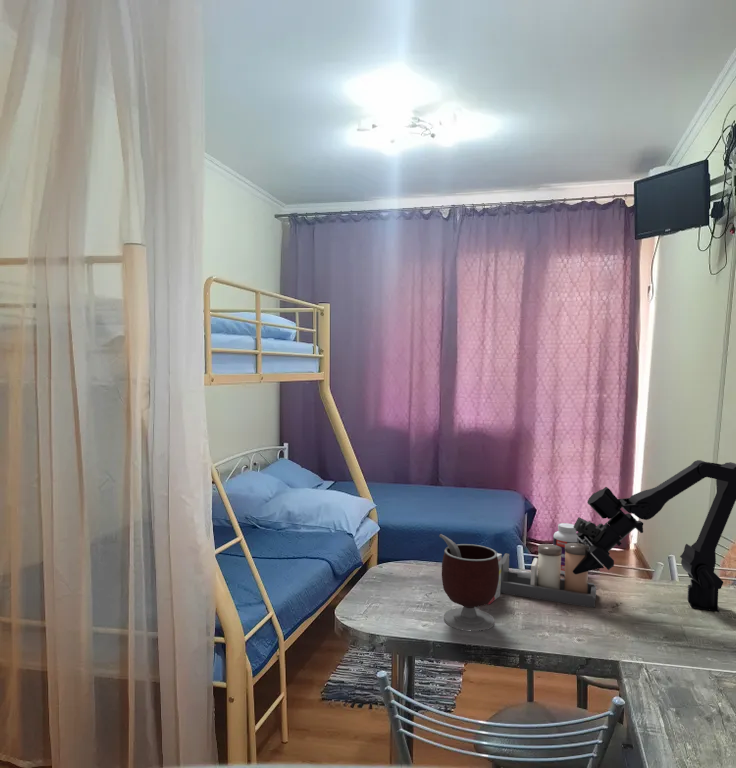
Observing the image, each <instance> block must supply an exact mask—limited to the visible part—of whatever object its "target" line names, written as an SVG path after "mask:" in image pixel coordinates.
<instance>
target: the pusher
mask: <svg viewBox="0 0 736 768" xmlns="http://www.w3.org/2000/svg"><path fill="white" fill-rule="evenodd" d="M516 572H517V577H521V578H528V579H531V583H530V585H533V586H537V575H538V558H537V557H534V558H533V560H532V563H531V565H530V571H525V570H517V571H516Z"/></svg>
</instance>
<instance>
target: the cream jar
mask: <svg viewBox="0 0 736 768" xmlns="http://www.w3.org/2000/svg"><path fill="white" fill-rule="evenodd" d="M537 551H538V554H537V556H538V585H537V586H540V587H546V588H553V589H559V590H560V578H561V575H562V574H561V554H562V548H561V547H560V546H557V545H553V543H552V544H551V543H542V544H541V543H540V544H538V549H537Z"/></svg>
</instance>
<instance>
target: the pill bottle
mask: <svg viewBox="0 0 736 768" xmlns="http://www.w3.org/2000/svg"><path fill="white" fill-rule="evenodd" d="M574 525H575V524H572V523H566V522H565V523H561V522H560V523H558V525H557V529H558V530H557V531H555V532H554V533H553V538H552V539H553V540H552V544H553V545H557V546H560V547H561V548H562V554H561V574H560V575H563V576H565V544H567V543H578V542H577V538H578V539H579V540H580V539H581V538H579V537H578V536H577V533H578V531H576V530H575V528H574Z"/></svg>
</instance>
